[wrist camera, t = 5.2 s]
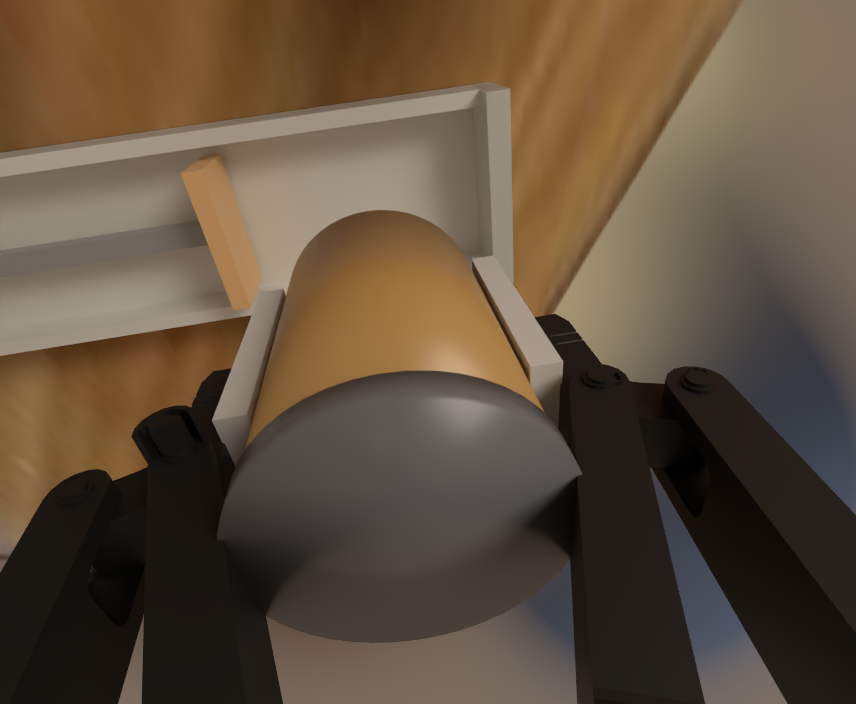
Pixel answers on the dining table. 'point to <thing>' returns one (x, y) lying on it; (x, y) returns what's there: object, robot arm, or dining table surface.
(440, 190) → the lane
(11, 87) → the dining table surface
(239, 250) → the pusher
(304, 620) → the jar
